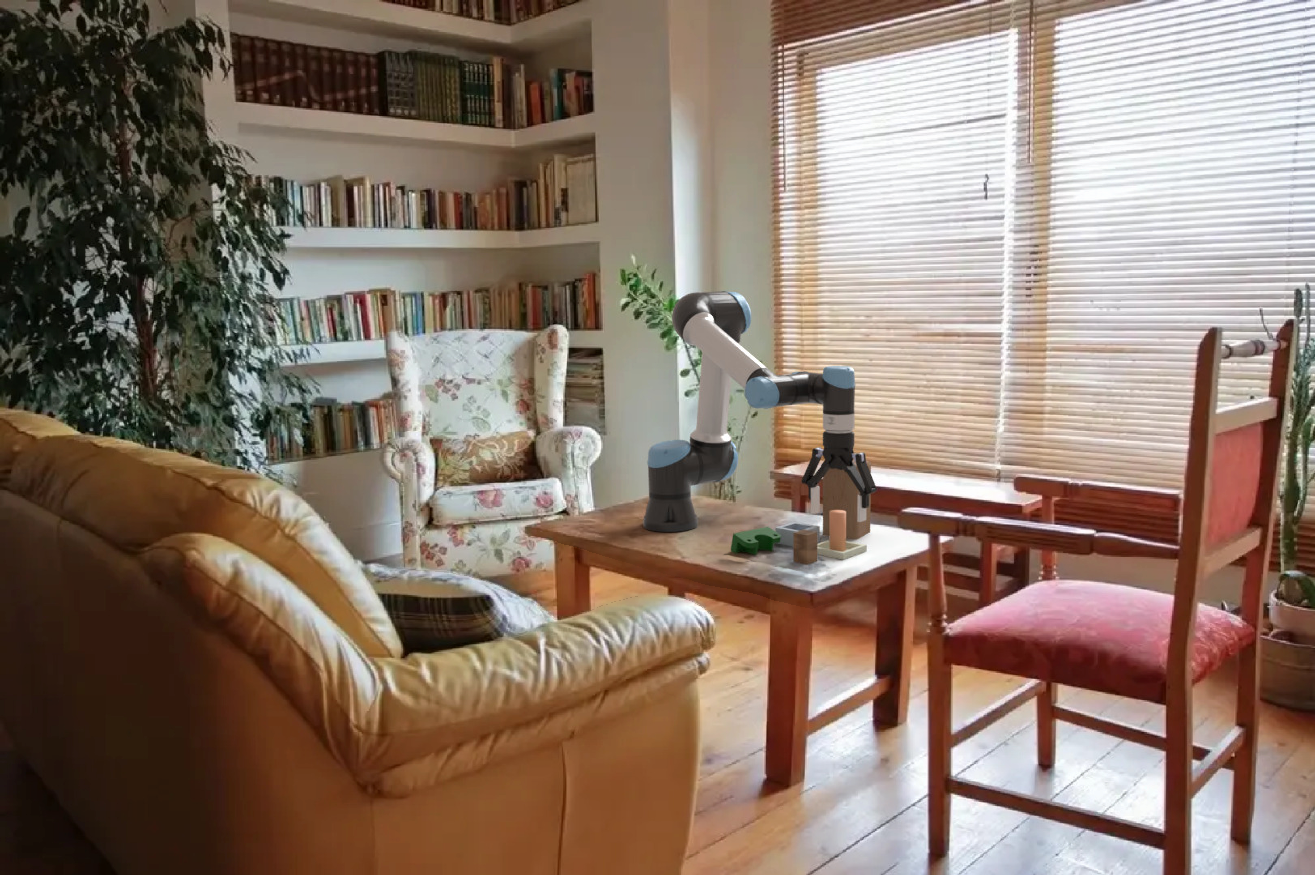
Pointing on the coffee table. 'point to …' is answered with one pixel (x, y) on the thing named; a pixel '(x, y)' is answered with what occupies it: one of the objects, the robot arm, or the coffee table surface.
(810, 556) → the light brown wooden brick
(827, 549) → the tray
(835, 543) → the peach rounded rod
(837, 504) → the wooden block
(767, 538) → the clamp
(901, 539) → the coffee table surface
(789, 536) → the socket
